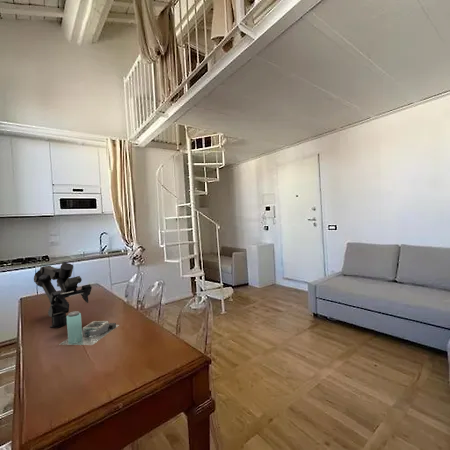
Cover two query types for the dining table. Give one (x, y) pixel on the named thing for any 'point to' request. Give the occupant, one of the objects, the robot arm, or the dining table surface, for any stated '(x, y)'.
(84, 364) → the dining table surface
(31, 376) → the dining table surface
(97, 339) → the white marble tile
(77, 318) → the bottle
